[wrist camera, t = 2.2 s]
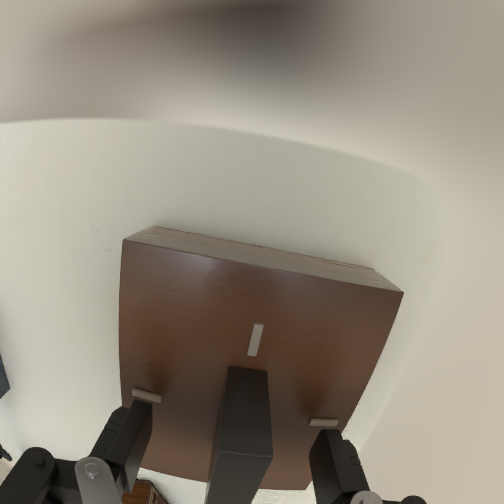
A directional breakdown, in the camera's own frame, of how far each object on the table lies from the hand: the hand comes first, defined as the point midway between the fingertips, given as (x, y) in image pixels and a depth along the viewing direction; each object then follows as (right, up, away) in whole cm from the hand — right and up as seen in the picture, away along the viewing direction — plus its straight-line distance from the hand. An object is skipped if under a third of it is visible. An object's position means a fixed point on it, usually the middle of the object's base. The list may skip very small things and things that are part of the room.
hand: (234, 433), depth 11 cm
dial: (0, 0, +1) cm, 1 cm away
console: (0, +1, +5) cm, 5 cm away
